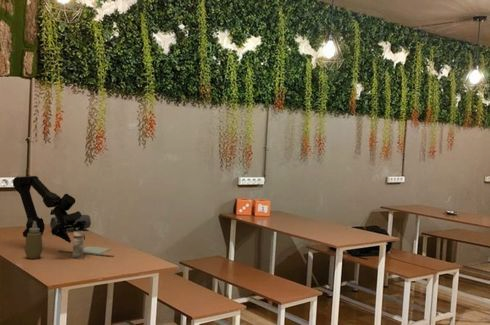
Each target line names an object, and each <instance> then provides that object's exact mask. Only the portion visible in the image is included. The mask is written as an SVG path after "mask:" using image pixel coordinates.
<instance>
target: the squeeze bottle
mask: <svg viewBox="0 0 490 325" xmlns="http://www.w3.org/2000/svg"><path fill="white" fill-rule="evenodd" d="M29 232H30V233H28V234H27V239H26V238H25V246H24V248H25V249H24V253H25V256H26V258H27V259H31V260H33V259H34V260H35V259H36V260H37V259H40V258H41V255H42V252H43V250H44V249H43V239H42V238H43V237H42V236H43V235H42V234H41V233H40V229H39V228H37V223H36V221H33V225H32V228H30V229H29Z"/></svg>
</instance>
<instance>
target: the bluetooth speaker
mask: <svg viewBox="0 0 490 325" xmlns="http://www.w3.org/2000/svg"><path fill="white" fill-rule="evenodd" d="M81 215H82V216H81V217H80V219H77V220H75V221H76V222H75V223H74V224H76V223H77V222H78V221H81V220H85V222H86V223H87V224H86V225H85V227H84V229H85V230H86V229H89V228H90V227H91V224H92V221H91V220H92V219H91V216H90V215H89V214H81ZM57 221H58V220H57V218H56V217H55V216H52V217H51V218H50V223H49V227H50V229H51V230H52V229H53V228H54V226H55V225H56V224H60V223H57ZM67 231H72V232H74V231H75V230H74V229H68V230H66V232H67ZM67 233H68V232H67Z"/></svg>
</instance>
